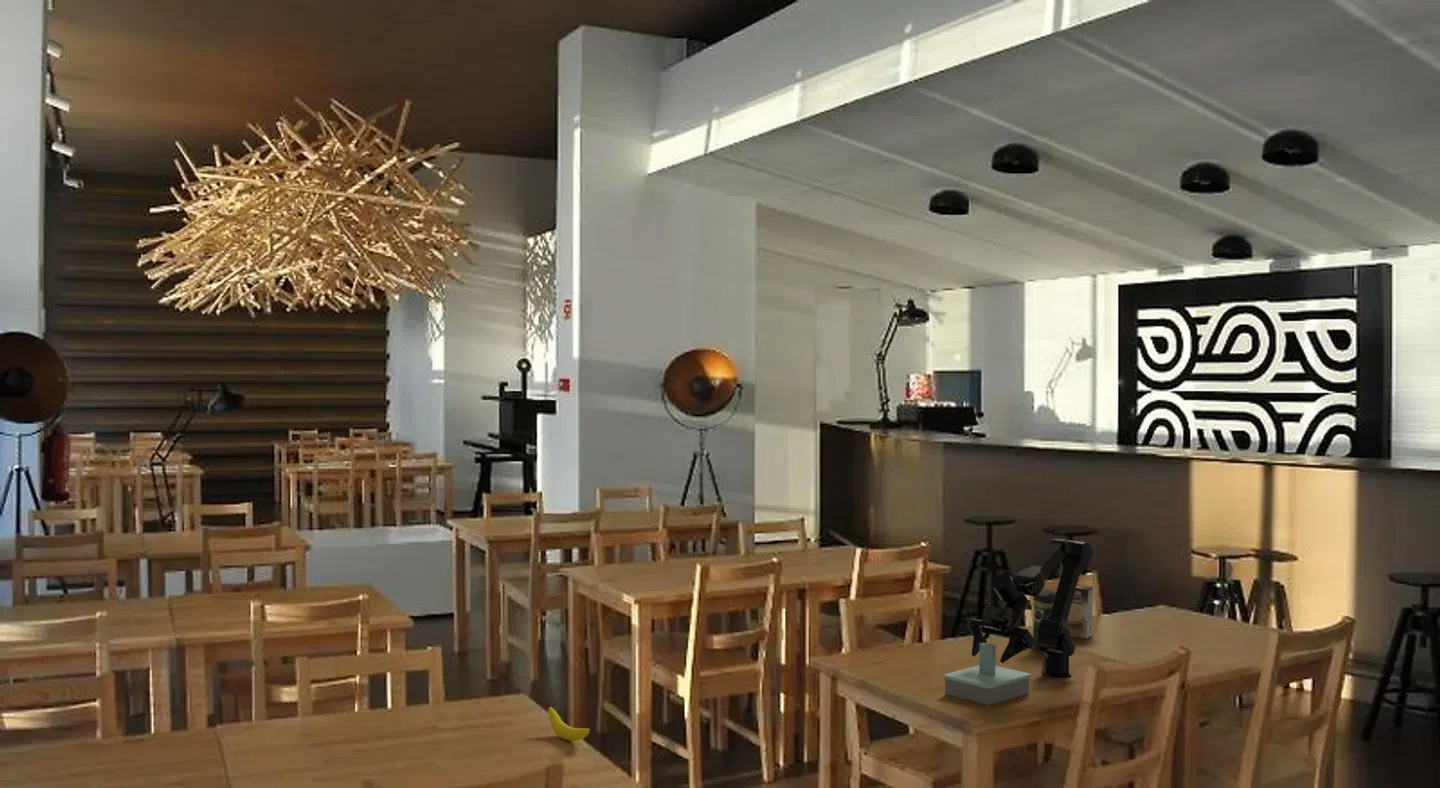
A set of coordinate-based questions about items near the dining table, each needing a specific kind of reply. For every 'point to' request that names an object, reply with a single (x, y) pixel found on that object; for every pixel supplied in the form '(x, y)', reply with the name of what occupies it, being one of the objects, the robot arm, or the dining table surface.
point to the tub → (986, 691)
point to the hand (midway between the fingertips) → (986, 658)
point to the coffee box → (1081, 612)
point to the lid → (987, 671)
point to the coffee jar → (1042, 609)
